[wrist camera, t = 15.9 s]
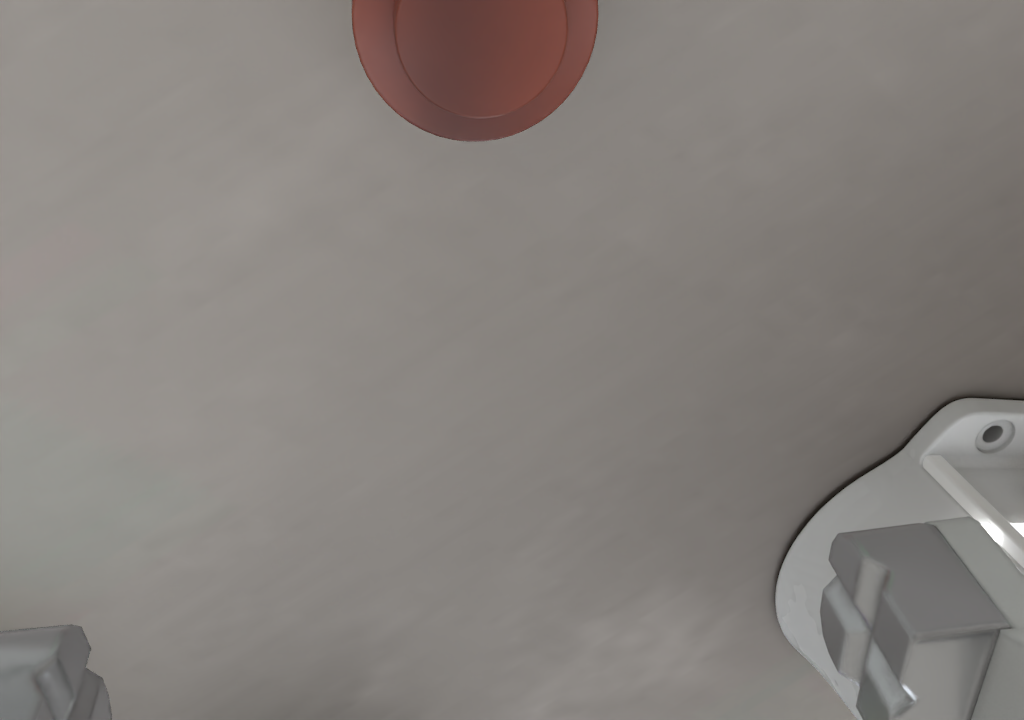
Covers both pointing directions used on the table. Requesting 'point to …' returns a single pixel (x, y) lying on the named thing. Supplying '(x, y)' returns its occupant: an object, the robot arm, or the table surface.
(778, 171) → the table surface
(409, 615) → the table surface
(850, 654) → the robot arm
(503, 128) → the toy mushroom
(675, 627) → the table surface
